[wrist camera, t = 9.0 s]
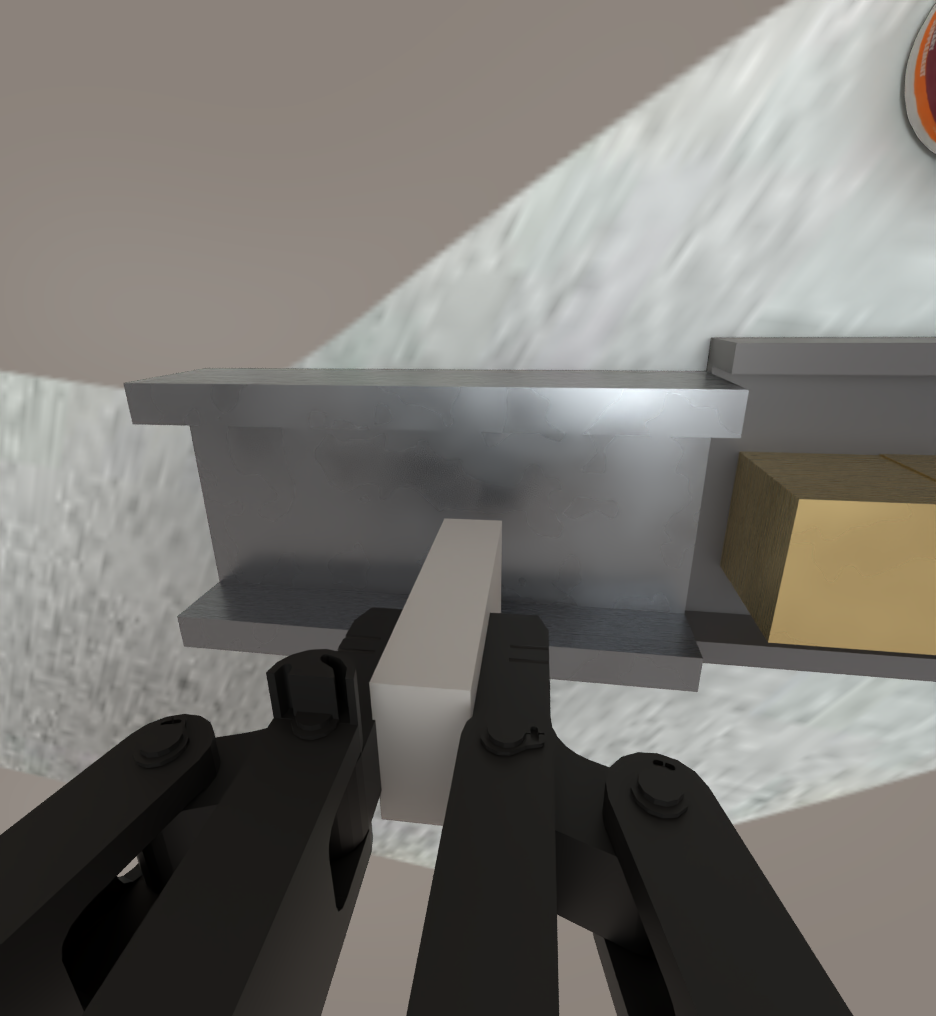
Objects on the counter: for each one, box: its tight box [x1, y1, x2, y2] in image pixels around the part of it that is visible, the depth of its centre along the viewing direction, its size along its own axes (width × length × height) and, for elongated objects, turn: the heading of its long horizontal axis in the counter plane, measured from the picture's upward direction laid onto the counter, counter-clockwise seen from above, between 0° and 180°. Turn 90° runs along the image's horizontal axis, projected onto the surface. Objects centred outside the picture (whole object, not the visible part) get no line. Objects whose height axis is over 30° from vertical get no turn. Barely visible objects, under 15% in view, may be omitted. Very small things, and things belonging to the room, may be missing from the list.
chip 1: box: [720, 451, 936, 655], centre depth 15 cm, size 4×4×4 cm
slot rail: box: [124, 368, 749, 692], centre depth 18 cm, size 17×9×4 cm, turn 90°
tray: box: [685, 337, 936, 682], centre depth 16 cm, size 12×10×2 cm
